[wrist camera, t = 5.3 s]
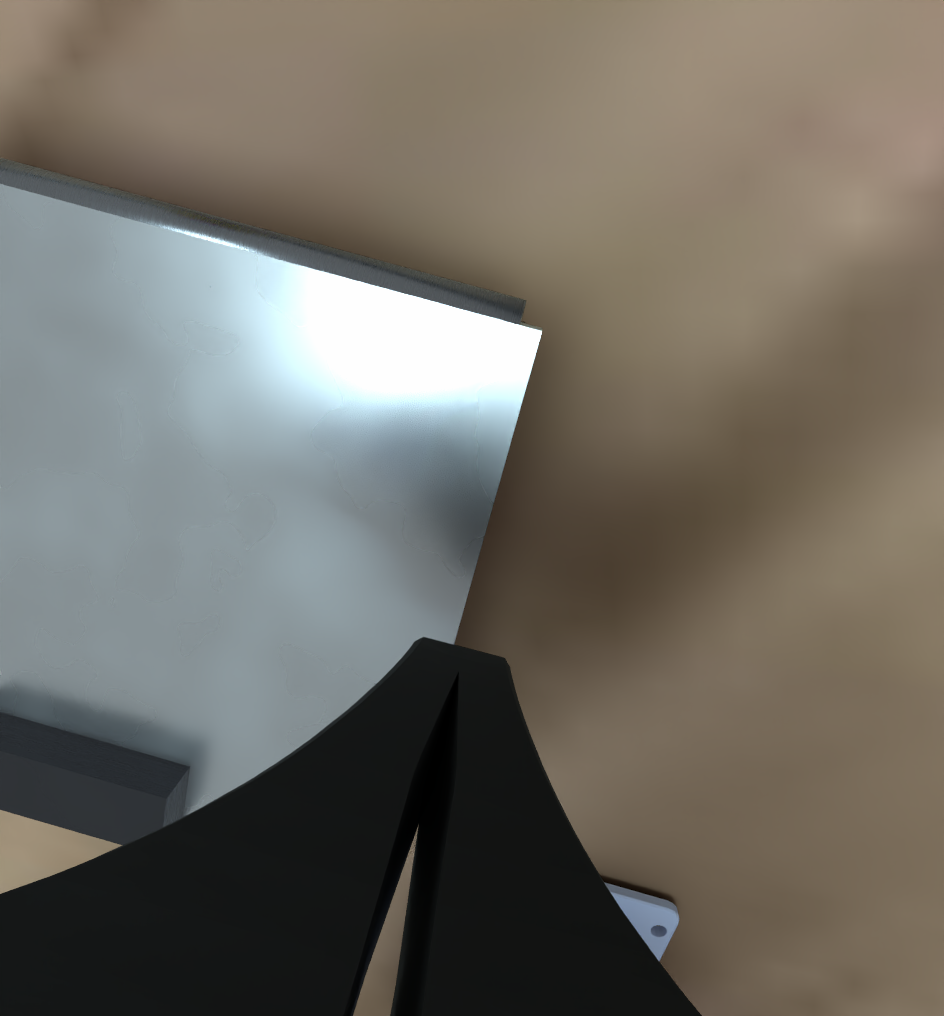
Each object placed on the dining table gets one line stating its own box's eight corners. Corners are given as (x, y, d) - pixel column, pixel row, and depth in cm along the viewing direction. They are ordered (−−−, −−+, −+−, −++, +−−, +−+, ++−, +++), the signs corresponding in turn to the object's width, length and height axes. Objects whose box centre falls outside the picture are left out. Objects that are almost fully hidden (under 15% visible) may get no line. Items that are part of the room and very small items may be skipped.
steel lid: (388, 877, 17) (370, 945, 15) (-187, 711, 17) (-269, 759, 15) (548, 305, 12) (548, 309, 10) (-242, 90, 12) (-368, 60, 11)
